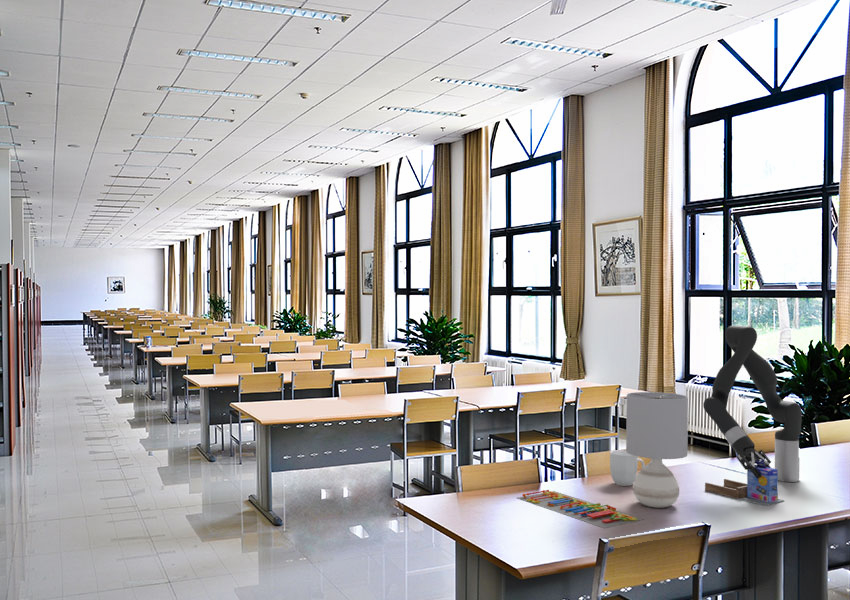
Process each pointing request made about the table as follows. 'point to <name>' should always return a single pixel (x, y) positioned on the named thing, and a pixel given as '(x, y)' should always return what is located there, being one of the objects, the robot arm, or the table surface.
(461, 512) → the table surface
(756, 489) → the ink cartridge box
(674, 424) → the lamp
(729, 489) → the frame
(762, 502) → the pad
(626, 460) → the mug
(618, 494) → the table surface
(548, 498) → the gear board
